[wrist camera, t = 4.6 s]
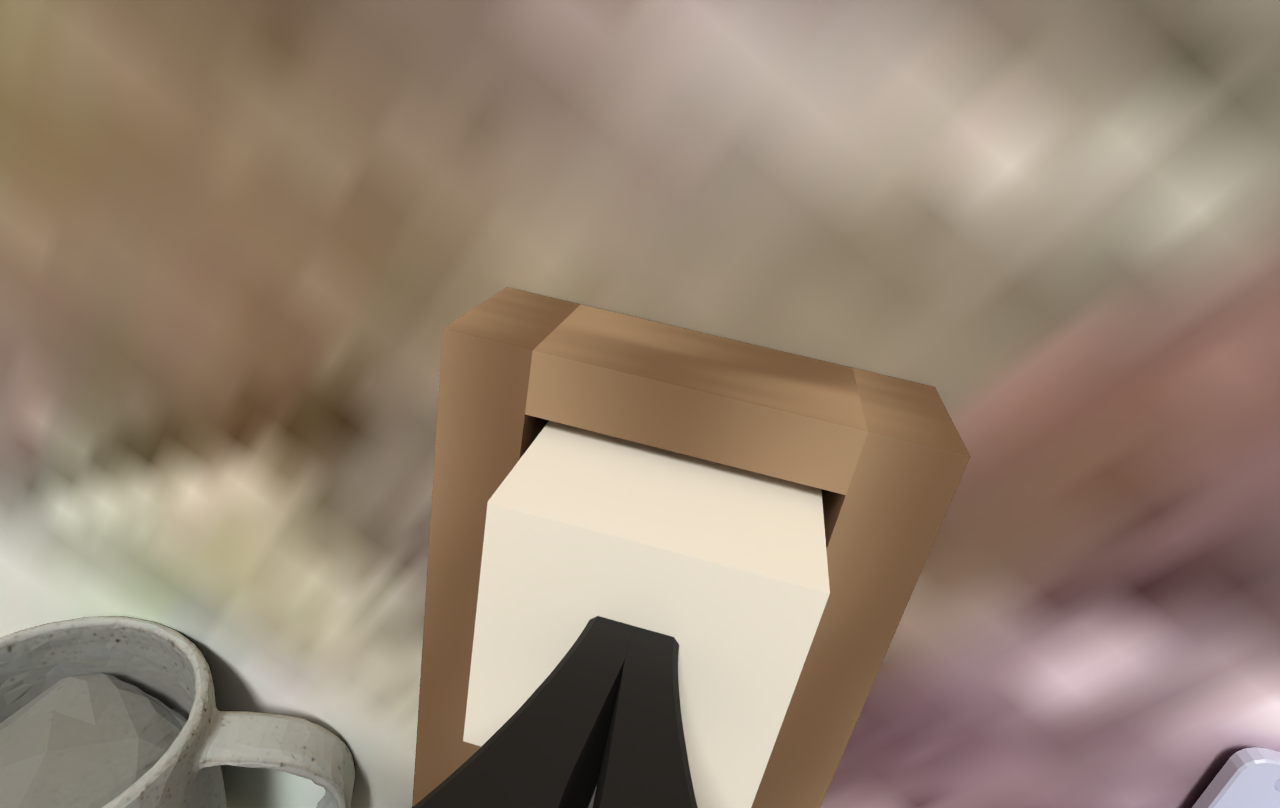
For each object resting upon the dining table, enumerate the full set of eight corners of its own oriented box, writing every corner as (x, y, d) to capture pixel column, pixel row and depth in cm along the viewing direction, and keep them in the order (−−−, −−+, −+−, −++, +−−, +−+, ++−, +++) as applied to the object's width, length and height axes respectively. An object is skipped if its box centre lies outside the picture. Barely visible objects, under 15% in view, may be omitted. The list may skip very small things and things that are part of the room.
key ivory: (818, 461, 13) (830, 593, 10) (754, 657, 15) (744, 826, 12) (566, 398, 14) (487, 501, 10) (537, 596, 16) (462, 740, 12)
